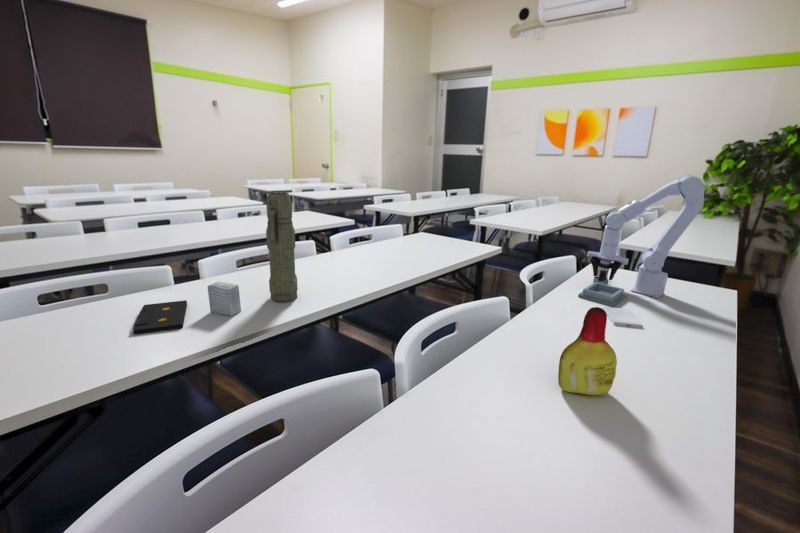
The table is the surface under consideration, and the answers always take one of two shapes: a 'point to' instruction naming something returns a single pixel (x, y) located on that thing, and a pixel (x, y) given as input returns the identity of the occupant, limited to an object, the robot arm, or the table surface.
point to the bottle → (589, 358)
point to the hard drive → (622, 317)
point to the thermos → (281, 247)
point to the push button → (603, 272)
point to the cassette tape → (160, 317)
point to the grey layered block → (224, 298)
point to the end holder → (603, 294)
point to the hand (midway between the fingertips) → (602, 277)
